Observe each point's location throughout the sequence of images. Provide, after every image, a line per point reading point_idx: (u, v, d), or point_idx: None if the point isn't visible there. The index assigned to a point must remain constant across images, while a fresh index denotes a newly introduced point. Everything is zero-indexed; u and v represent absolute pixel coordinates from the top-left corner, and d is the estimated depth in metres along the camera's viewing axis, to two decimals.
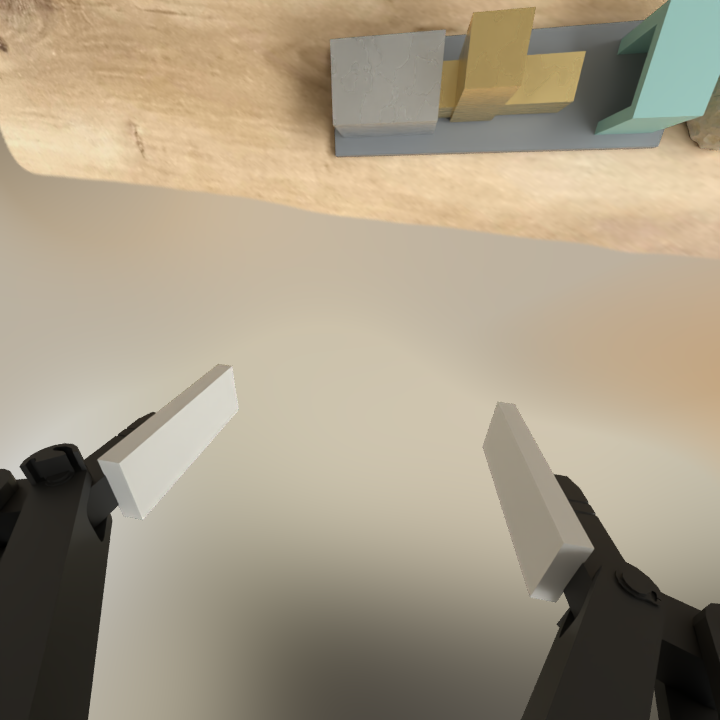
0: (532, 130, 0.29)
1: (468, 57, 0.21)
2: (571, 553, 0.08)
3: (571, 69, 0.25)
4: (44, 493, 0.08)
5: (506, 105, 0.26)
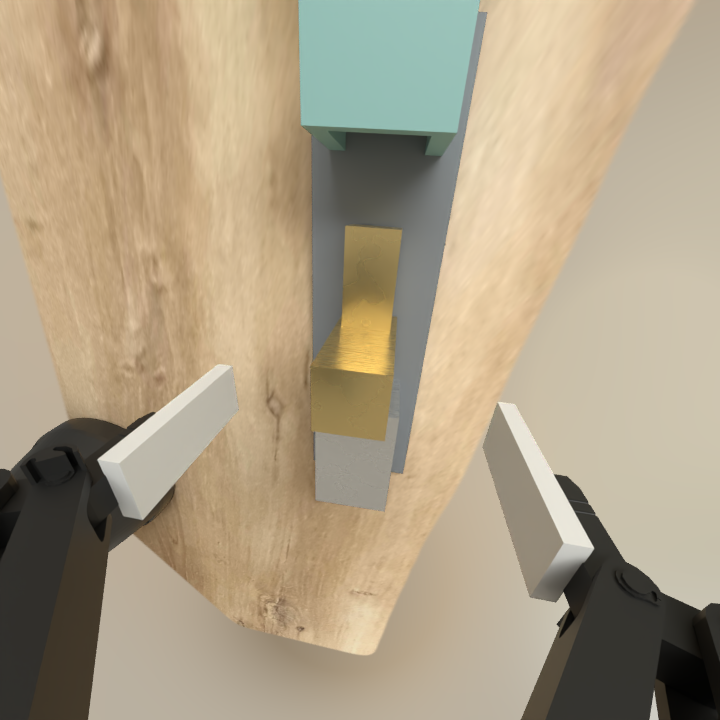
0: (418, 258, 0.20)
1: (352, 435, 0.16)
2: (571, 553, 0.08)
3: (363, 241, 0.17)
4: (44, 493, 0.08)
5: (391, 321, 0.19)
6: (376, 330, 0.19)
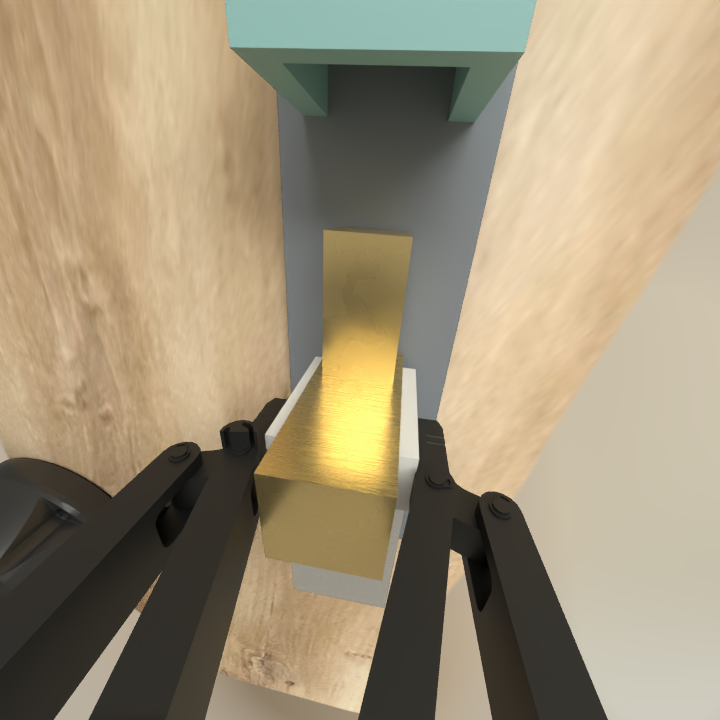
0: (434, 275, 0.14)
1: (330, 567, 0.10)
2: (404, 464, 0.10)
3: (352, 255, 0.11)
4: (229, 459, 0.10)
5: (394, 369, 0.13)
6: (373, 381, 0.13)
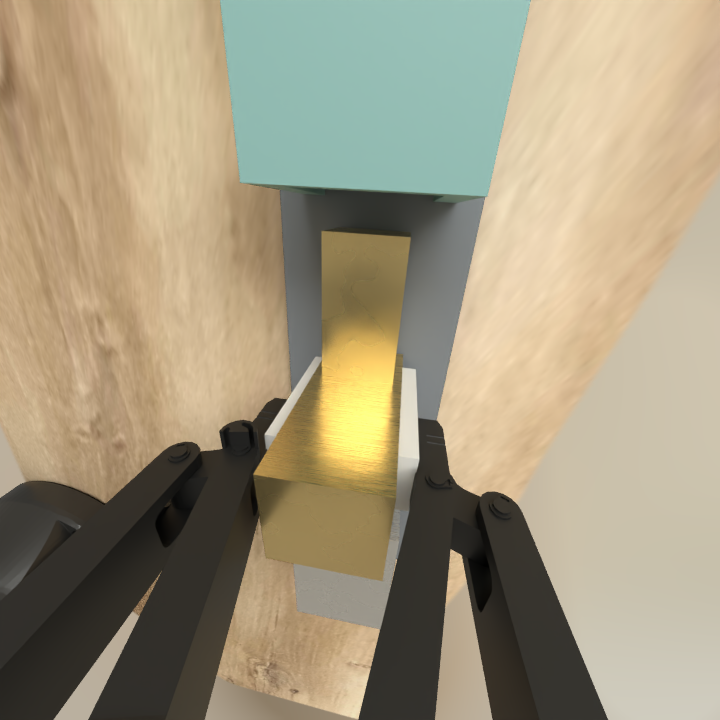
0: (424, 329, 0.15)
1: (330, 567, 0.10)
2: (405, 464, 0.10)
3: (350, 255, 0.11)
4: (228, 459, 0.10)
5: (394, 369, 0.13)
6: (373, 381, 0.13)
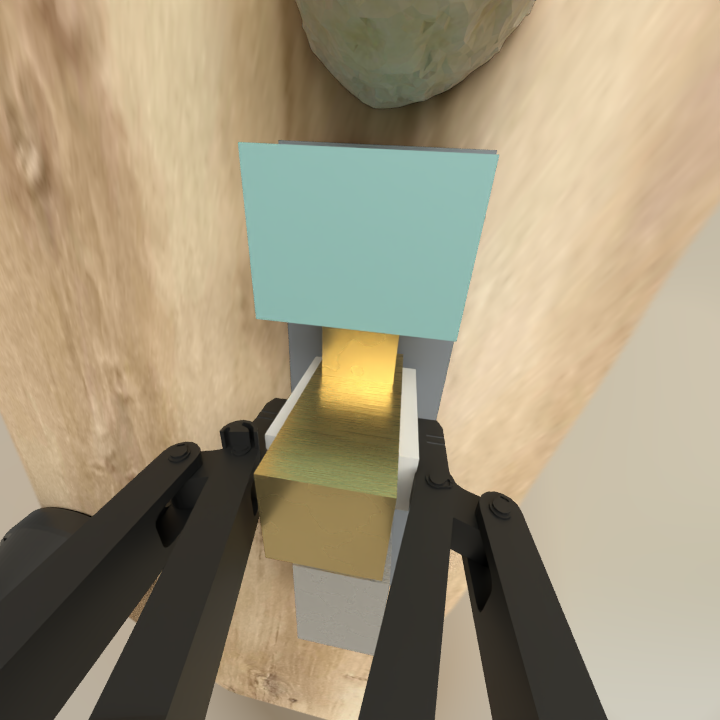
0: None
1: (330, 567, 0.10)
2: (405, 464, 0.10)
3: None
4: (228, 459, 0.10)
5: None
6: (373, 381, 0.13)
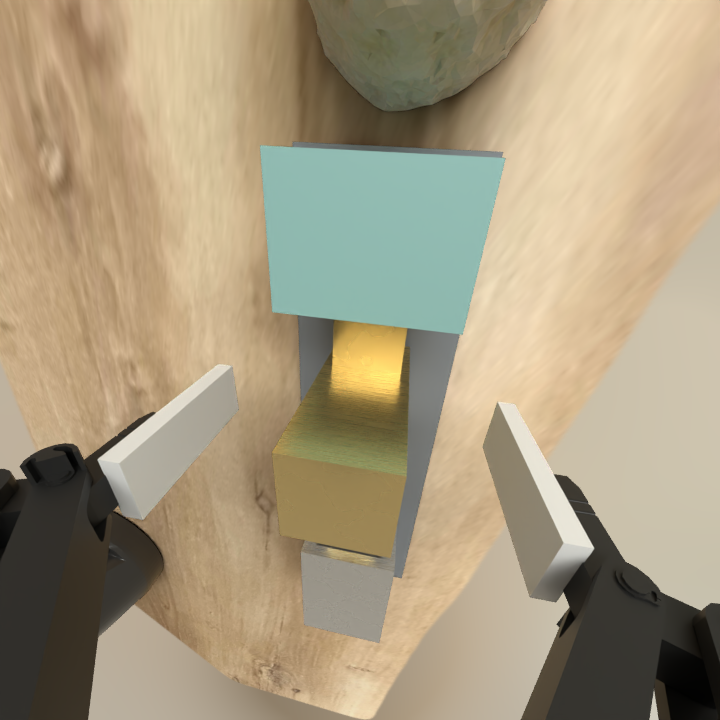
0: (418, 388, 0.18)
1: (341, 545, 0.10)
2: (571, 553, 0.08)
3: None
4: (44, 493, 0.08)
5: None
6: (382, 371, 0.14)
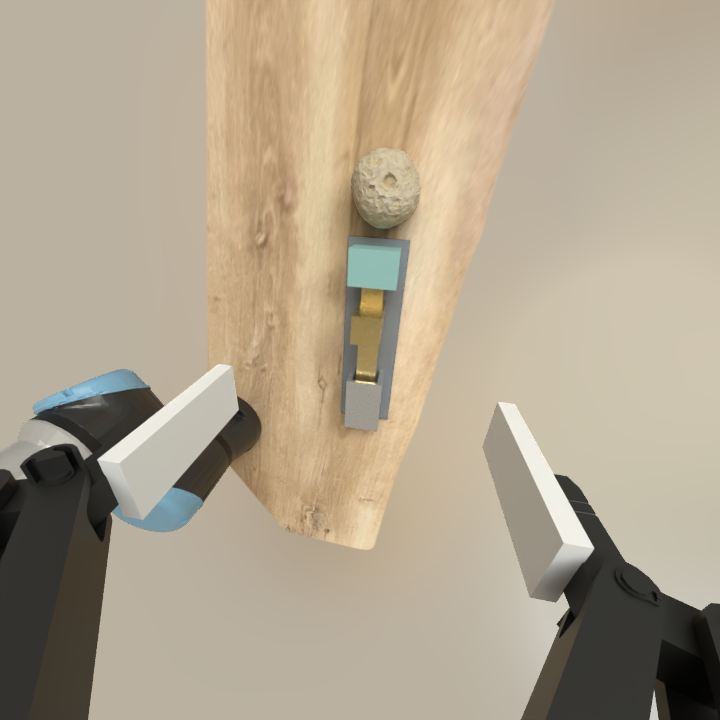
0: (390, 318, 0.48)
1: (366, 345, 0.40)
2: (571, 553, 0.08)
3: None
4: (44, 493, 0.08)
5: (382, 302, 0.43)
6: (376, 306, 0.44)
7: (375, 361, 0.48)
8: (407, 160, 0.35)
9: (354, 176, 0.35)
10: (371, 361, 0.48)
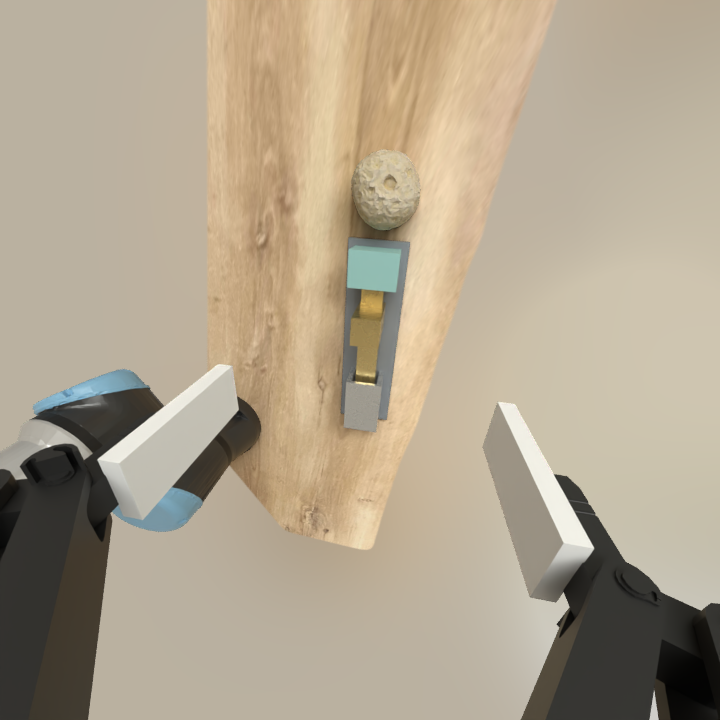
0: (389, 319, 0.48)
1: (365, 346, 0.40)
2: (571, 553, 0.08)
3: None
4: (44, 493, 0.08)
5: (382, 303, 0.44)
6: (376, 307, 0.44)
7: (375, 362, 0.48)
8: (407, 162, 0.35)
9: (354, 178, 0.35)
10: (371, 362, 0.48)
